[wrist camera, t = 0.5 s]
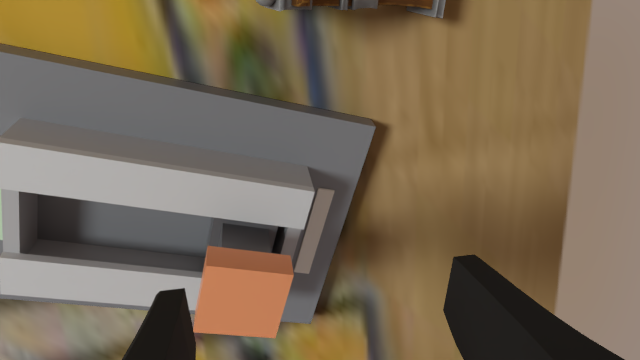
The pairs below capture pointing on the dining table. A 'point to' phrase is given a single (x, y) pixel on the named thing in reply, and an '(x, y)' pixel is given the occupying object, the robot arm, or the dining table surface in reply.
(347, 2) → the wooden post with brackets
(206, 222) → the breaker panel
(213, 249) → the toggle
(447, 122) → the dining table surface
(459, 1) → the dining table surface
